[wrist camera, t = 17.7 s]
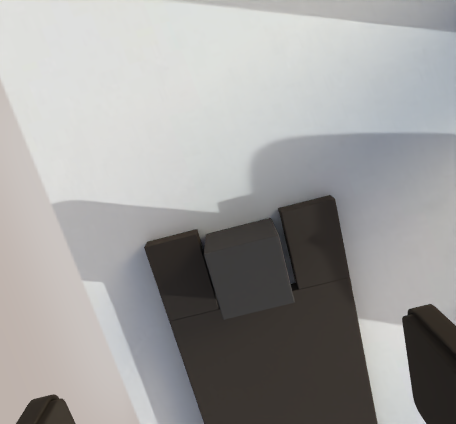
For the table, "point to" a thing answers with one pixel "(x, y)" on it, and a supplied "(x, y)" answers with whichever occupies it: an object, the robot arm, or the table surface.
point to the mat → (271, 331)
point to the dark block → (248, 268)
